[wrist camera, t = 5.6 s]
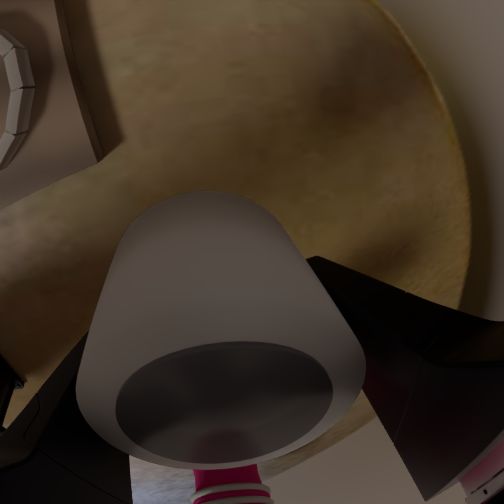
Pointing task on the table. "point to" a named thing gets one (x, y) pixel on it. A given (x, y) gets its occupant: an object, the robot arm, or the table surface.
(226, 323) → the lens
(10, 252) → the table surface
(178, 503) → the table surface
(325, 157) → the table surface
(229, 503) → the pepper mill
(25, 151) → the mount board
